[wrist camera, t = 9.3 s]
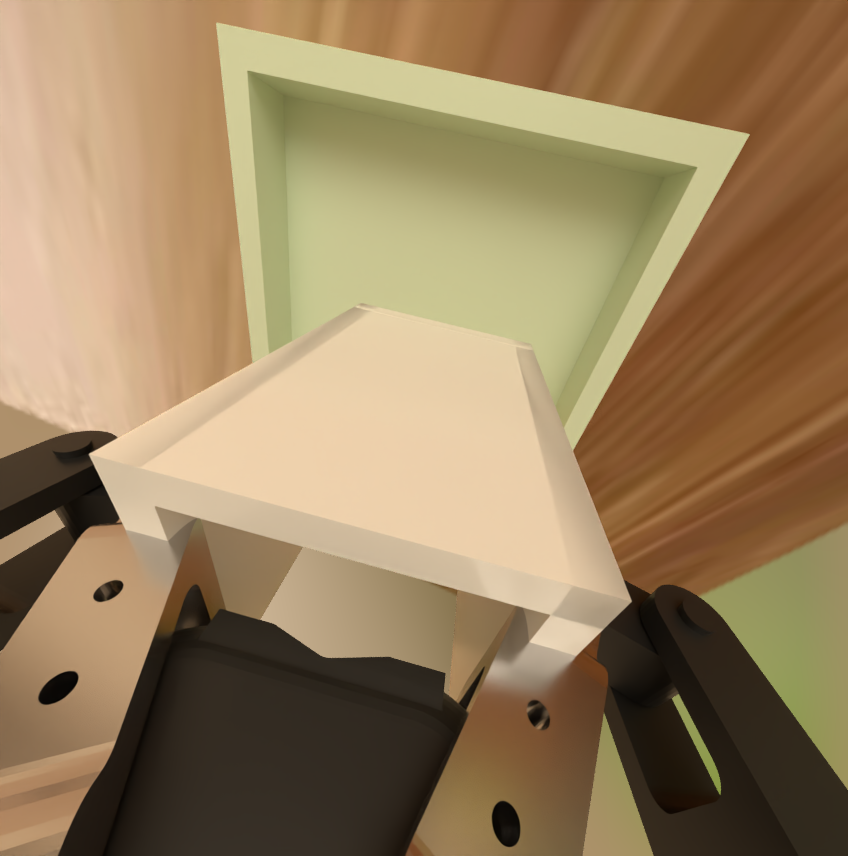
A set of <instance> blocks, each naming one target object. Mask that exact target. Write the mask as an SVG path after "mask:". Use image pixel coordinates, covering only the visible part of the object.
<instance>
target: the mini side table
mask: <svg viewBox="0 0 848 856" xmlns="http://www.w3.org/2000/svg"><path fill="white" fill-rule="evenodd" d="M89 456H90V458H91V460H92V462H93V464H94V466H95V468H96V470H97V472H98V474H99V476H100V478H101V480H102V482H103V484H104V487H105V489H106V491H107V493H108V495H109V497H110V499H111V501H112V503H113V505H114V507H115V509H116V511H117V513H118V515H119V517H120V519H121V521H122V524H123V526H124V528H125V530H129V531H133V532H137V533H141V534H144V535H148V536H152V537H155V538H159V539H162V540H166V541H169V540H170V539H171V538H172V537H173V536H174V535H175V534H176V533H177V532H178V531H179V530H180V529H181V528H182V527H184V526H185V525H186V524H187V523H189V522H190V521H192V520H194V519H196V518H200V519H201V522H202V525H203V529H204V532H205V536H206V539H207V543H208V547H209V550H210V554H211V557H212V561H213V564H214V568H215V571H216V575H217V579H218V582H219V586H220V589H221V593H222V596H223V600H224V603H225V607H226V610H227V611H231V612H234V613H237V614H241V615H244V616H248V617H251V618H255V619H258V620H260V619H261V617H262V616H263V614H264V612H265V610H266V609H267V607H268V605H269V604H270V602H271V600H272V598H273V597H274V595H275V593H276V592H277V590H278V588H279V587H280V585H281V583H282V582H283V580H284V578H285V576H286V575H287V573H288V571H289V570H290V568H291V566H292V565H293V563H294V561H295V559H296V558H297V556H298V554H299V552H300V551H301V549H302V548H303V547H305V548H309V549H312V550H316V551H320V552H323V553H327V554H331V555H334V556H338V557H342V558H345V559H349V560H353V561H356V562H360V563H363V564H367V565H371V566H374V567H378V568H381V569H385V570H389V571H392V572H396V573H400V574H403V575H407V576H410V577H414V578H418V579H421V580H425V581H429V582H432V583H436V584H439V585H443V586H447V587H450V588H454V589H458V591H457V604H456V616H455V628H454V640H453V652H452V664H451V676H450V689H449V696H450V697H452V698H453V699H454V700H455V701H456V700H457V698H458V696H459V694H460V692H461V690H462V688H463V687H464V685H465V683H466V681H467V680H468V678H469V677H470V675H471V674H472V672H473V671H474V669H475V667H476V666H477V664H478V663H479V661H480V660H481V658H482V657H483V655H484V654H485V652H486V651H487V649H488V648H489V646H490V645H491V643H492V642H493V640H494V639H495V637H496V636H497V634H498V632H499V631H500V629H501V628H502V626H503V625H504V623H505V622H506V620H507V619H508V617H509V616H510V614H511V613H512V611H513V610H514V608H515V607H516V606H519V607H522V608H523V610H524V613H525V616H526V621H527V627H528V636H529V642H530V643H534V644H537V645H541V646H544V647H548V648H552V649H555V650H558V651H562V652H565V653H568V654H571V655H574V656H577V655H578V654H579V653H580V652H581V651H582V650H583V649H584V648H585V647H586V646H587V645H588V644H589V643H590V642H591V641H592V640H593V639H594V638H595V637H596V636H597V635H598V634H599V633H600V632H601V631H602V630H603V629H604V628H605V627H606V626H607V625H608V624H609V623H610V622H611V621H612V620H613V619H614V618H616V617H617V616H618V615H619V614H620V613H621V612H622V611H623V610H624V609H625V608H626V607H627V606H628V605H629V604H630V603H631V602H632V600H631V598H630V595H629V593H628V590H627V588H626V585H625V583H624V580H623V578H622V575H621V572H620V570H619V567H618V565H617V562H616V560H615V557H614V555H613V552H612V550H611V547H610V544H609V542H608V539H607V537H606V534H605V532H604V529H603V527H602V524H601V522H600V519H599V516H598V514H597V511H596V509H595V506H594V504H593V501H592V499H591V496H590V494H589V491H588V488H587V486H586V483H585V481H584V478H583V476H582V473H581V471H580V468H579V466H578V463H577V460H576V458H575V455H574V453H573V450H572V448H571V445H570V443H569V440H568V437H567V435H566V432H565V430H564V427H563V425H562V422H561V420H560V417H559V415H558V412H557V409H556V407H555V404H554V402H553V399H552V397H551V394H550V392H549V389H548V387H547V384H546V381H545V379H544V376H543V374H542V371H541V369H540V366H539V364H538V361H537V359H536V356H535V353H534V351H533V348H532V346H531V344H529V343H525V342H521V341H516V340H512V339H508V338H504V337H500V336H496V335H492V334H487V333H483V332H479V331H475V330H471V329H467V328H463V327H458V326H454V325H450V324H446V323H442V322H438V321H434V320H430V319H425V318H421V317H417V316H413V315H409V314H405V313H401V312H396V311H392V310H388V309H384V308H380V307H376V306H372V305H367V304H363V303H360V304H358V305H356V306H354V307H353V308H351V309H349V310H347V311H346V312H344V313H342V314H340V315H338V316H337V317H335V318H333V319H331V320H329V321H328V322H326V323H324V324H322V325H320V326H319V327H317V328H315V329H313V330H311V331H310V332H308V333H306V334H304V335H302V336H301V337H299V338H297V339H295V340H293V341H292V342H290V343H288V344H286V345H284V346H283V347H281V348H279V349H277V350H275V351H274V352H272V353H270V354H268V355H266V356H265V357H263V358H261V359H259V360H257V361H256V362H254V363H252V364H250V365H248V366H247V367H245V368H243V369H241V370H239V371H238V372H236V373H234V374H232V375H230V376H229V377H227V378H225V379H223V380H221V381H220V382H218V383H216V384H214V385H212V386H211V387H209V388H207V389H205V390H203V391H202V392H200V393H198V394H196V395H194V396H193V397H191V398H189V399H187V400H185V401H184V402H182V403H180V404H178V405H176V406H175V407H173V408H171V409H169V410H167V411H166V412H164V413H162V414H160V415H158V416H157V417H155V418H153V419H151V420H149V421H148V422H146V423H144V424H142V425H140V426H139V427H137V428H135V429H133V430H131V431H130V432H128V433H126V434H124V435H122V436H121V437H119V438H117V439H115V440H113V441H112V442H110V443H108V444H106V445H104V446H103V447H101V448H99V449H97V450H95V451H94V452H92V453H90V454H89Z"/></svg>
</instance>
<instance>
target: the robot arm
mask: <svg viewBox="0 0 848 856" xmlns="http://www.w3.org/2000/svg"><path fill="white" fill-rule="evenodd" d="M115 439H117V437H116V436H115V435H113V434H111V433H108V432H103V431H82V432H75V433H69V434H65V435H61V436H58V437H55V438H52V439H49V440H47V441H44V442H42V443H39V444H37V445H34V446H31V447H29V448H26V449H24V450H21V451H19V452H16V453H14V454H11V455H9V456H7V457H4V458H1V459H0V539H2V538H4V537H5V536H8V535H9V534H11V533H13V532H15V531H17V530H19V529H20V528H22V527H24V526H26V525H27V524H30V523H31V522H33V521H35V520H37V519H39V518H41V517H43V516H44V515H46V514H48V513H50V512H52V511H53V510H55V511H56V513H57V514H58V516H59V517H60V519H61V521H62V522H63V524H64V525H65V527H64V528H62V529H61V530H59V531H57V532H55V533H54V534H52V535H50V536H49V537H47V538H45V539H44V540H42V541H40V542H39V543H37V544H35V545H33V546H32V547H30V548H28V549H27V550H25V551H23V552H22V553H20V554H18V555H17V556H15V557H13V558H12V559H10V560H8V561H6V562H5V563H3V564H1V565H0V651H1V650H2V652H1V653H0V856H582V854H583V847H584V841H585V834H586V828H587V821H588V814H589V807H590V801H591V794H592V788H593V780H594V773H595V766H596V761H597V754H598V747H599V740H600V734H601V727H602V721H603V714H604V713H605V716H606V719H607V722H608V724H609V727H610V730H611V733H612V736H613V739H614V742H615V745H616V747H617V750H618V753H619V756H620V759H621V762H622V765H623V768H624V771H625V773H626V776H627V779H628V782H629V785H630V788H631V791H632V794H633V797H634V800H635V803H636V806H637V808H638V811H639V814H640V817H641V820H642V823H643V826H644V829H645V832H646V834H647V837H648V840H649V843H650V846H651V849H652V852H653V855H654V856H848V790H847V788H846V787H845V786H844V784H843V783H842V782H841V780H840V779H839V777H838V776H837V775H836V773H835V772H834V770H833V769H832V768H831V766H830V765H829V764H828V762H827V761H826V759H825V758H824V757H823V755H822V754H821V753H820V751H819V750H818V748H817V747H816V746H815V744H814V743H813V742H812V740H811V739H810V738H809V736H808V735H807V733H806V732H805V731H804V729H803V728H802V726H801V725H800V724H799V722H798V721H797V720H796V718H795V717H794V715H793V714H792V713H791V711H790V710H789V708H788V707H787V706H786V705H785V703H784V702H783V700H782V699H781V697H780V696H779V695H778V693H777V692H776V691H775V689H774V688H773V686H772V685H771V684H770V682H769V681H768V680H767V678H766V677H765V676H764V674H763V673H762V672H761V670H760V669H759V667H758V666H757V664H756V663H755V662H754V660H753V659H752V658H751V656H750V655H749V654H748V652H747V651H746V649H745V648H744V647H743V645H742V644H741V643H740V641H739V640H738V638H737V637H736V636H735V634H734V633H733V631H732V630H731V629H730V627H729V626H728V625H727V623H726V622H725V621H724V619H723V618H722V617H721V616H720V615H719V614H718V613H717V612H716V611H715V610H714V609H713V608H712V607H711V606H710V605H709V604H707V603H706V602H705V601H704V600H702V599H701V598H699V597H698V596H697V595H695V594H693V593H692V592H690V591H688V590H686V589H684V588H681V587H678V586H674V585H662V586H660V587H658V588H657V589H656V590H655V591H654V592H653V593H652V594H649V593H647V592H645V591H644V590H642V589H640V588H638V587H636V586H634V585H632V584H630V583H629V582H627V581H625V580H624V583H625V585H626V588H627V590H628V593H629V595H630V598H631V600H632V602H631V603H630V604H629V605H628V606H627V607H626V608H625V609H624V610H623V611H622V612H621V613H620V614H619V615H618V616H617V617H616V618H614V619H613V620H612V621H611V622H610V623H609V624H608V625H607V626H606V627H605V628H604V629H603V630H602V631H601V632H600V633H599V634H598V635H597V636H596V637H595V638H594V639H593V640H592V641H591V642H590V643H589V644H588V645H587V646H586V647H585V648H584V649H583V650H582V651H581V652H580V653H579V654H578V655H577V656H574V655H571V654H568V653H565V652H562V651H558V650H555V649H552V648H548V647H544V646H541V645H537V644H534V643H530V642H529V636H528V627H527V621H526V616H525V613H524V610H523V608H522V607H519V606H516V607H515V608H514V610H513V611H512V613H511V614H510V616H509V617H508V619H507V620H506V622H505V623H504V625H503V626H502V628H501V629H500V631H499V632H498V634H497V636H496V637H495V639H494V640H493V642H492V643H491V645H490V646H489V648H488V649H487V651H486V652H485V654H484V655H483V657H482V658H481V660H480V661H479V663H478V664H477V666H476V667H475V669H474V671H473V672H472V674H471V675H470V677H469V678H468V680H467V681H466V683H465V685H464V687H463V688H462V690H461V692H460V694H459V696H458V698H457V700H456V701H455V700H454V699H453V698H452V697H450V696H449V695H447V694H445V693H444V683H445V673H443V672H440V671H436V670H432V669H429V668H426V667H422V666H419V665H415V664H412V663H408V662H405V661H401V660H398V659H394V658H391V657H362V658H325V657H322V656H320V655H318V654H317V653H316V652H314V651H313V650H311V649H310V648H308V647H307V646H305V645H304V644H302V643H301V642H300V641H298V640H297V639H295V638H294V637H292V636H291V635H289V634H288V633H286V632H285V631H284V630H282V629H281V628H279V627H277V626H276V625H274V624H272V623H269V622H265V621H262V620H258V619H255V618H251V617H248V616H244V615H241V614H237V613H234V612H231V611H227V610H226V607H225V603H224V600H223V596H222V593H221V589H220V586H219V582H218V579H217V575H216V571H215V568H214V564H213V561H212V557H211V554H210V550H209V547H208V543H207V539H206V536H205V532H204V529H203V525H202V522H201V519H200V518H196V519H194V520H192V521H190V522H189V523H187V524H186V525H185V526H184V527H182V528H181V529H180V530H179V531H178V532H177V533H176V534H175V535H174V536H173V537H172V538H171V539H170V540H169V541H166V540H162V539H159V538H155V537H152V536H148V535H144V534H141V533H137V532H133V531H129V530H125V528H124V526H123V524H122V521H121V519H120V517H119V515H118V513H117V511H116V509H115V507H114V505H113V503H112V501H111V499H110V497H109V495H108V493H107V491H106V489H105V487H104V484H103V482H102V480H101V478H100V476H99V474H98V472H97V470H96V468H95V466H94V464H93V462H92V460H91V458H90V456H89V454H90V453H92V452H94V451H95V450H97V449H99V448H101V447H103V446H104V445H106V444H108V443H110V442H112V441H113V440H115ZM677 694H679V695H680V697H681V699H682V701H683V703H684V705H685V707H686V708H687V710H688V712H689V714H690V716H691V718H692V720H693V722H694V724H695V726H696V728H697V730H698V732H699V734H700V736H701V738H702V740H703V741H704V743H705V745H706V747H707V749H708V751H709V753H710V755H711V757H712V759H713V761H714V763H715V765H716V767H717V770H718V773H719V777H720V782H721V795H720V794H719V793H718V791H717V789H716V787H715V785H714V783H713V781H712V779H711V777H710V775H709V773H708V771H707V769H706V767H705V765H704V763H703V760H702V759H701V757H700V754H699V752H698V750H697V749H696V746H695V745H694V743H693V740H692V738H691V736H690V734H689V732H688V731H687V729H686V726H685V724H684V722H683V720H682V718H681V716H680V714H679V712H678V710H677V708H676V706H675V704H674V702H673V700H672V698H673V697H674V696H676V695H677Z"/></svg>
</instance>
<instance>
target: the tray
mask: <svg viewBox="0 0 848 856" xmlns="http://www.w3.org/2000/svg"><path fill="white" fill-rule="evenodd" d="M216 27H217V36H218V45H219V54H220V64H221V73H222V82H223V92H224V101H225V110H226V120H227V129H228V138H229V148H230V157H231V166H232V176H233V185H234V194H235V204H236V213H237V222H238V232H239V241H240V250H241V260H242V269H243V278H244V288H245V297H246V306H247V315H248V325H249V334H250V343H251V353H252V362H253V363H254V362H256V361H257V360H259V359H261V358H263V357H265V356H266V355H268V354H270V353H272V352H274V351H275V350H277V349H279V348H281V347H283V346H284V345H286V344H288V343H290V342H292V341H293V340H295V339H297V338H299V337H301V336H302V335H304V334H306V333H308V332H310V331H311V330H313V329H315V328H317V327H319V326H320V325H322V324H324V323H326V322H328V321H329V320H331V319H333V318H335V317H337V316H338V315H340V314H342V313H344V312H346V311H347V310H349V309H351V308H353V307H354V306H356V305H358V304H360V303H363V304H367V305H372V306H376V307H380V308H384V309H388V310H392V311H396V312H401V313H405V314H409V315H413V316H417V317H421V318H425V319H430V320H434V321H438V322H442V323H446V324H450V325H454V326H458V327H463V328H467V329H471V330H475V331H479V332H483V333H487V334H492V335H496V336H500V337H504V338H508V339H512V340H516V341H521V342H525V343H529V344H531V346H532V348H533V351H534V353H535V356H536V359H537V361H538V364H539V366H540V369H541V371H542V374H543V376H544V379H545V381H546V384H547V387H548V389H549V392H550V394H551V397H552V399H553V402H554V404H555V407H556V409H557V412H558V415H559V417H560V420H561V422H562V425H563V427H564V430H565V432H566V435H567V437H568V440H569V443H570V445H571V448H572V450H574V448H575V446H576V444H577V442H578V441H579V439H580V437H581V435H582V433H583V432H584V430H585V428H586V426H587V425H588V423H589V421H590V419H591V417H592V416H593V414H594V412H595V410H596V408H597V407H598V405H599V403H600V401H601V399H602V398H603V396H604V394H605V392H606V391H607V389H608V387H609V385H610V383H611V382H612V380H613V378H614V376H615V374H616V373H617V371H618V369H619V367H620V365H621V364H622V362H623V360H624V358H625V357H626V355H627V353H628V351H629V349H630V348H631V346H632V344H633V342H634V340H635V339H636V337H637V335H638V333H639V332H640V330H641V328H642V326H643V324H644V323H645V321H646V319H647V317H648V315H649V314H650V312H651V310H652V308H653V306H654V305H655V303H656V301H657V299H658V298H659V296H660V294H661V292H662V290H663V289H664V287H665V285H666V283H667V281H668V280H669V278H670V276H671V274H672V272H673V271H674V269H675V267H676V265H677V264H678V262H679V260H680V258H681V256H682V255H683V253H684V251H685V249H686V247H687V246H688V244H689V242H690V240H691V238H692V237H693V235H694V233H695V231H696V230H697V228H698V226H699V224H700V222H701V221H702V219H703V217H704V215H705V213H706V212H707V210H708V208H709V206H710V205H711V203H712V201H713V199H714V197H715V196H716V194H717V192H718V190H719V188H720V187H721V185H722V183H723V181H724V179H725V178H726V176H727V174H728V172H729V171H730V169H731V167H732V165H733V163H734V162H735V160H736V158H737V156H738V154H739V153H740V151H741V149H742V147H743V145H744V144H745V142H746V140H747V138H748V137H749V135H750V134H746V133H742V132H737V131H732V130H727V129H722V128H718V127H713V126H708V125H703V124H699V123H694V122H689V121H684V120H679V119H675V118H670V117H665V116H660V115H656V114H651V113H646V112H641V111H637V110H632V109H627V108H622V107H617V106H613V105H608V104H603V103H598V102H594V101H589V100H584V99H579V98H574V97H570V96H565V95H560V94H555V93H551V92H546V91H541V90H536V89H531V88H527V87H522V86H517V85H512V84H508V83H503V82H498V81H493V80H488V79H484V78H479V77H474V76H469V75H465V74H460V73H455V72H450V71H445V70H441V69H436V68H431V67H426V66H422V65H417V64H412V63H407V62H402V61H398V60H393V59H388V58H383V57H379V56H374V55H369V54H364V53H359V52H355V51H350V50H345V49H340V48H336V47H331V46H326V45H321V44H316V43H312V42H307V41H302V40H297V39H293V38H288V37H283V36H278V35H274V34H269V33H264V32H259V31H254V30H250V29H245V28H240V27H235V26H231V25H226V24H221V23H216Z"/></svg>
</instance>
